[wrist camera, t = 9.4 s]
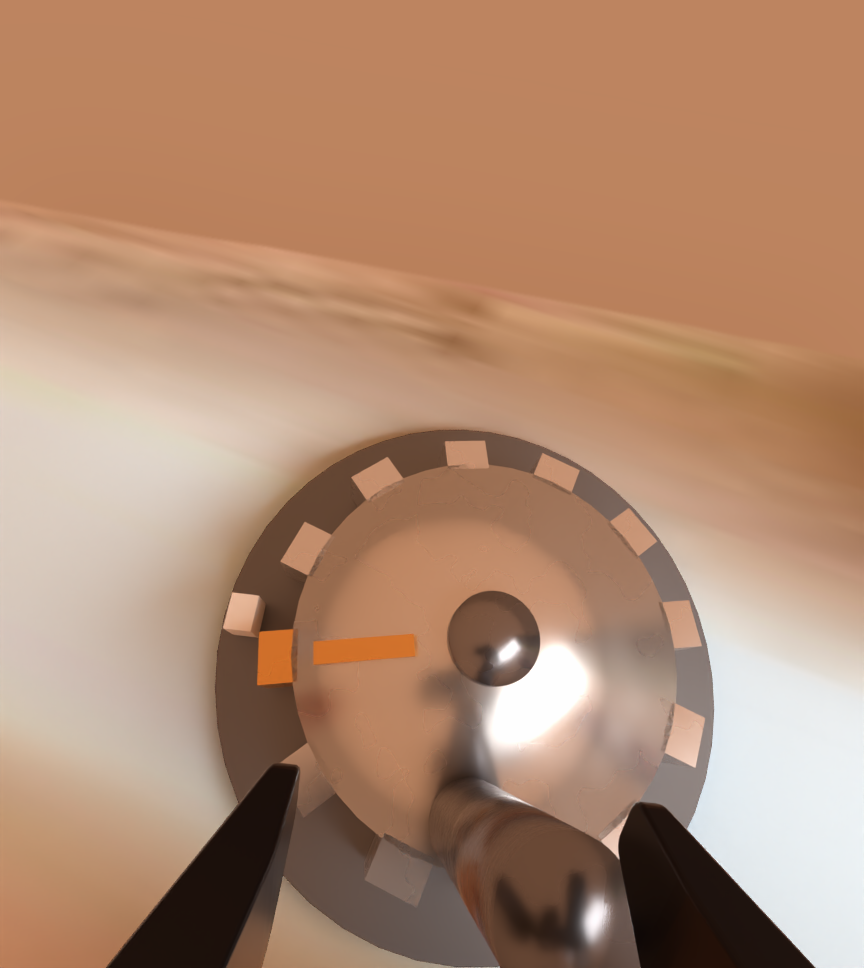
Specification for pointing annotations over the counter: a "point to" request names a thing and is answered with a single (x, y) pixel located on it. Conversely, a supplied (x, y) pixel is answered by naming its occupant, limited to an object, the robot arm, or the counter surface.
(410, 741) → the sprocket
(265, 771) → the robot arm
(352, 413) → the counter surface
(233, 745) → the stand
